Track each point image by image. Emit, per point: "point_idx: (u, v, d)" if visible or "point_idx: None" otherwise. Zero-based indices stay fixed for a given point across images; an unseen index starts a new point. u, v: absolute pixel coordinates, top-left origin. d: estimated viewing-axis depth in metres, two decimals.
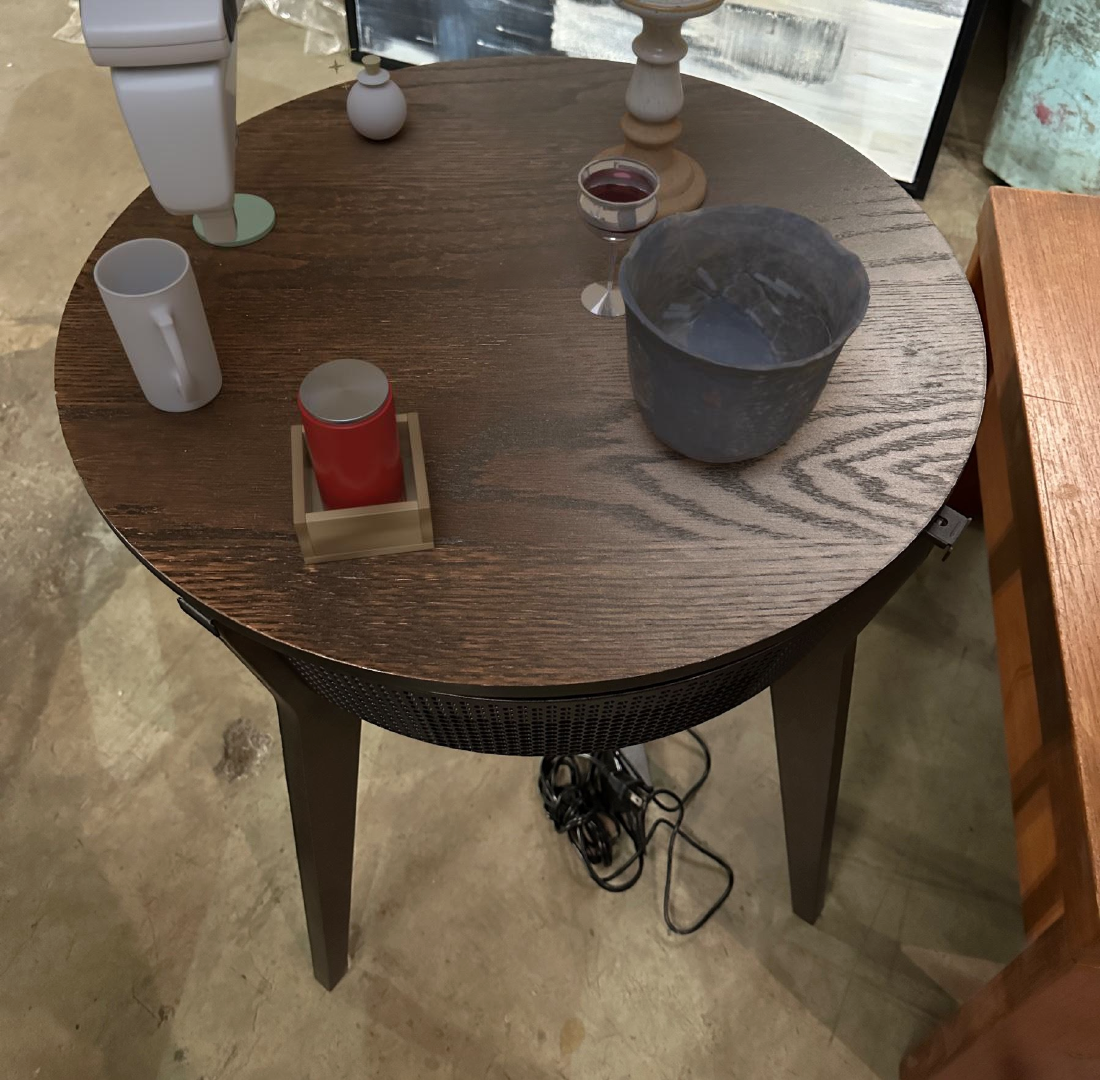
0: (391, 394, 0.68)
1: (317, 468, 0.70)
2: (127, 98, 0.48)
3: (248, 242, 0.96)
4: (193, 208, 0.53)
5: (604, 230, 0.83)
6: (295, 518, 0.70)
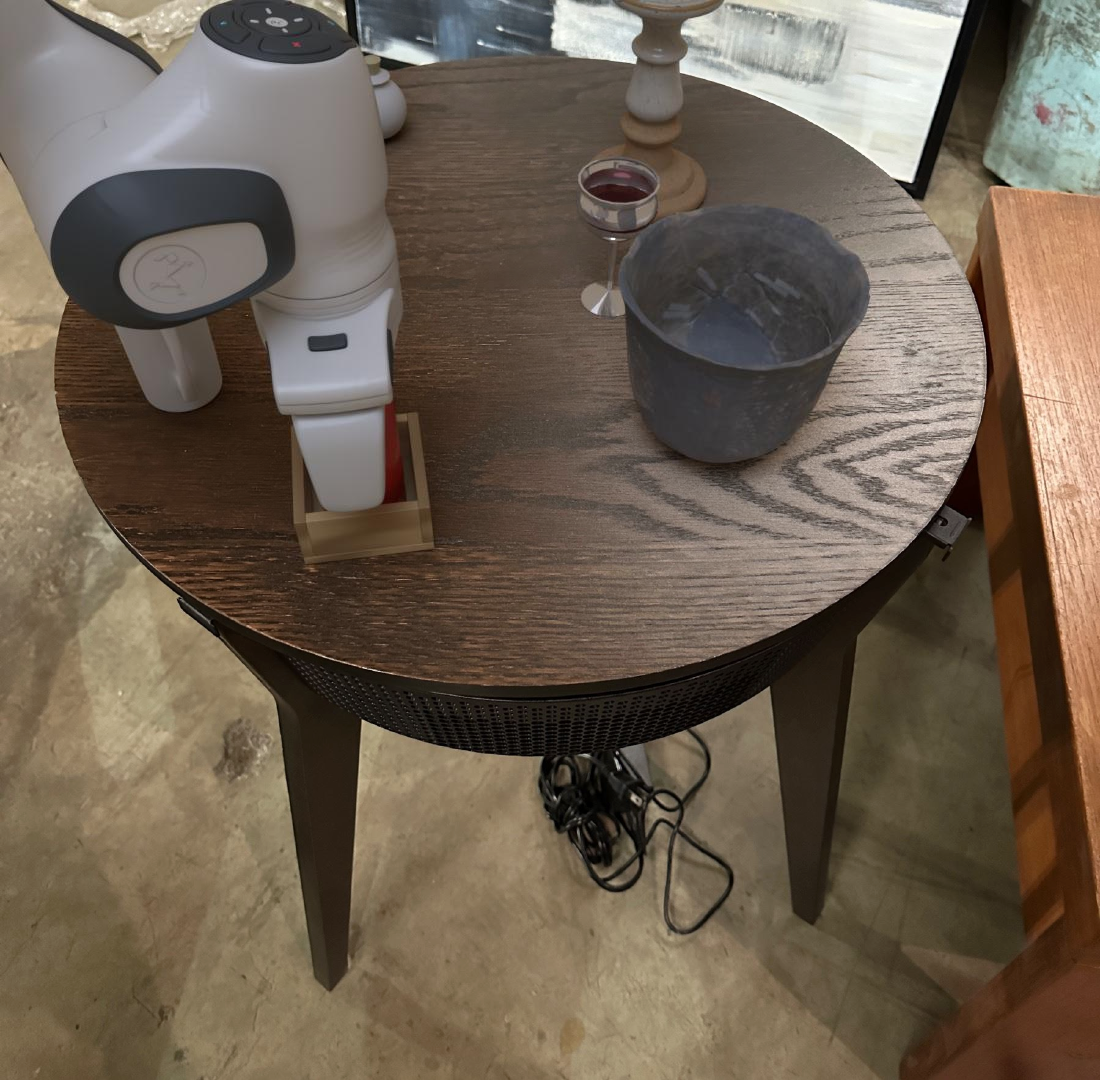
0: None
1: None
2: (306, 438, 0.57)
3: None
4: (350, 510, 0.61)
5: (604, 230, 0.83)
6: (295, 518, 0.70)
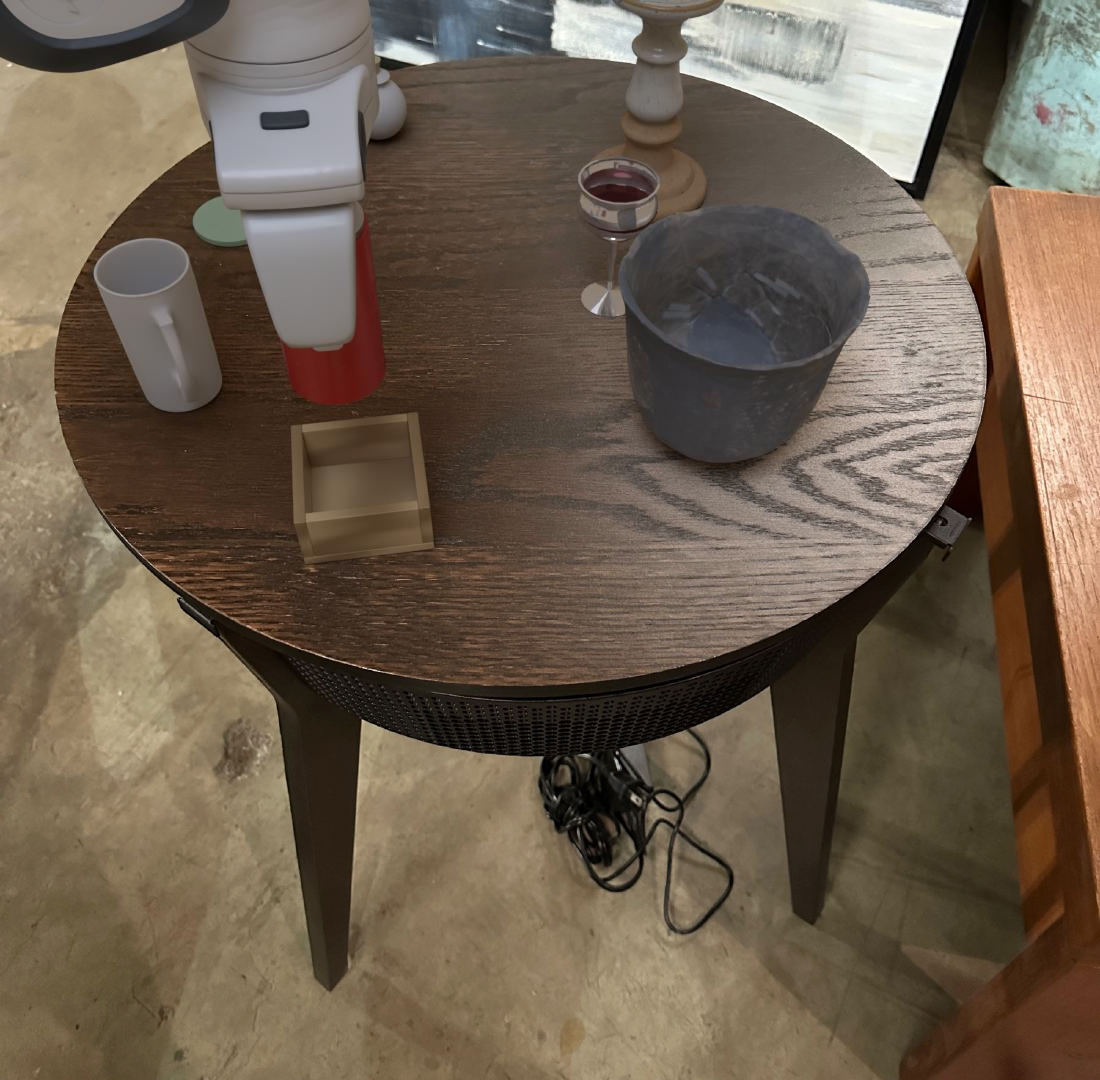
0: (367, 225, 0.57)
1: None
2: (258, 241, 0.47)
3: None
4: (314, 343, 0.51)
5: (604, 230, 0.83)
6: (295, 518, 0.70)
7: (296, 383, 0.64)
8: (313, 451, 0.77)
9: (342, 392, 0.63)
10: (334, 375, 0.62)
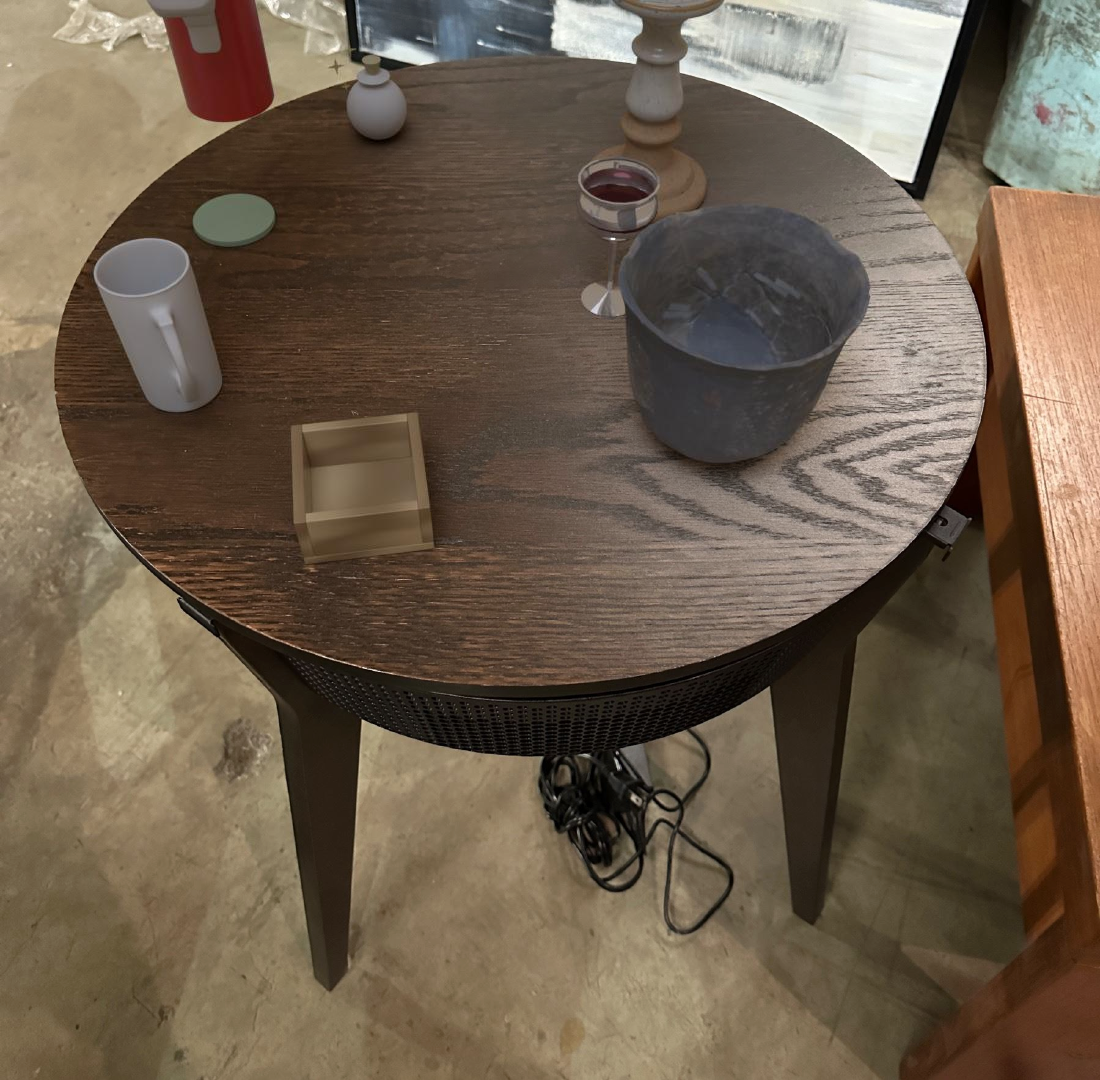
0: None
1: (169, 30, 0.68)
2: None
3: (248, 242, 0.96)
4: (178, 8, 0.59)
5: (604, 230, 0.83)
6: (295, 518, 0.70)
7: (190, 102, 0.72)
8: (313, 451, 0.77)
9: (230, 108, 0.72)
10: (220, 88, 0.70)
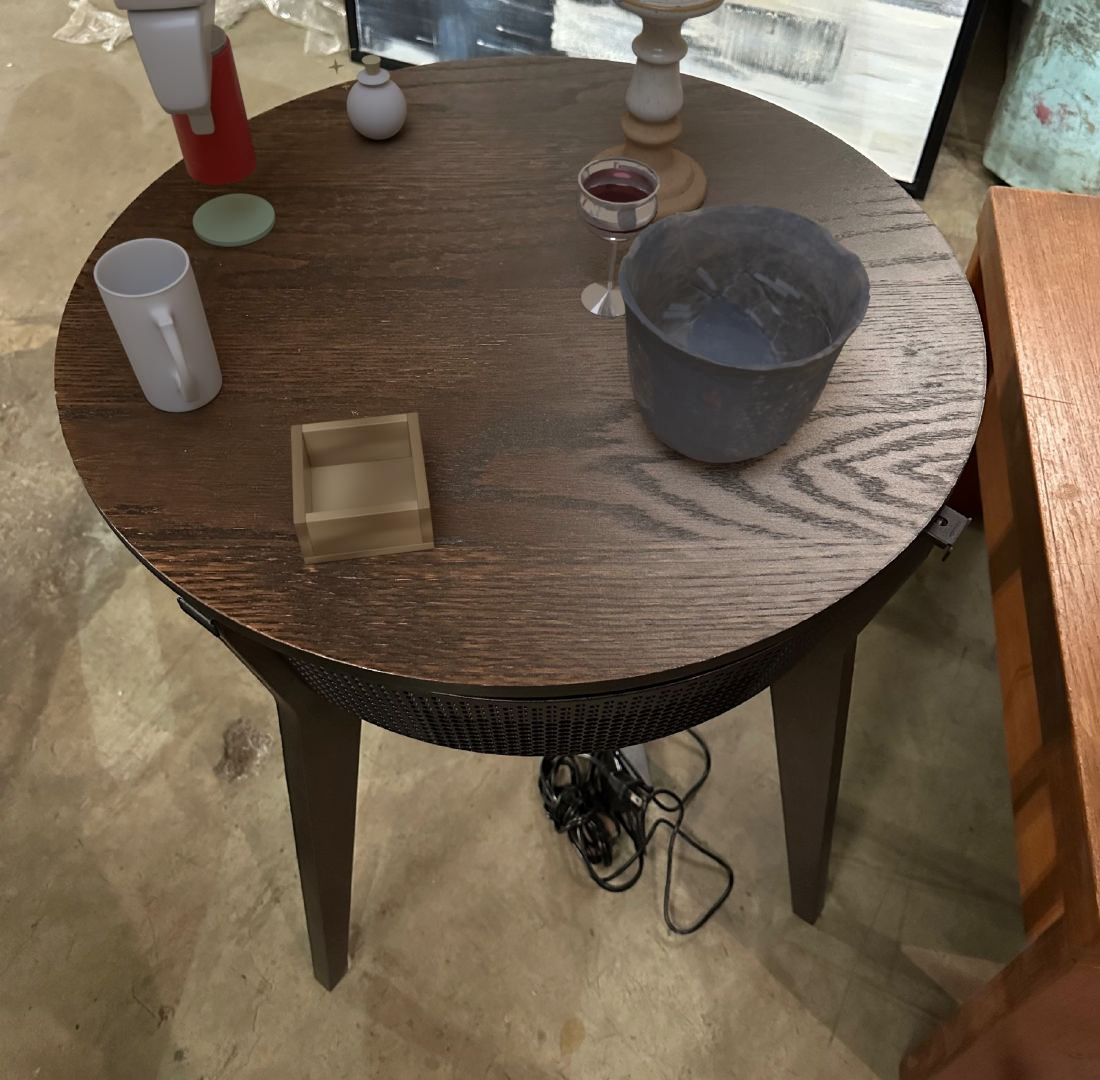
0: (228, 45, 0.84)
1: (173, 115, 0.87)
2: (138, 31, 0.74)
3: (248, 242, 0.96)
4: (182, 108, 0.78)
5: (604, 230, 0.83)
6: (295, 518, 0.70)
7: (190, 169, 0.91)
8: (313, 451, 0.77)
9: (222, 174, 0.90)
10: (214, 159, 0.89)
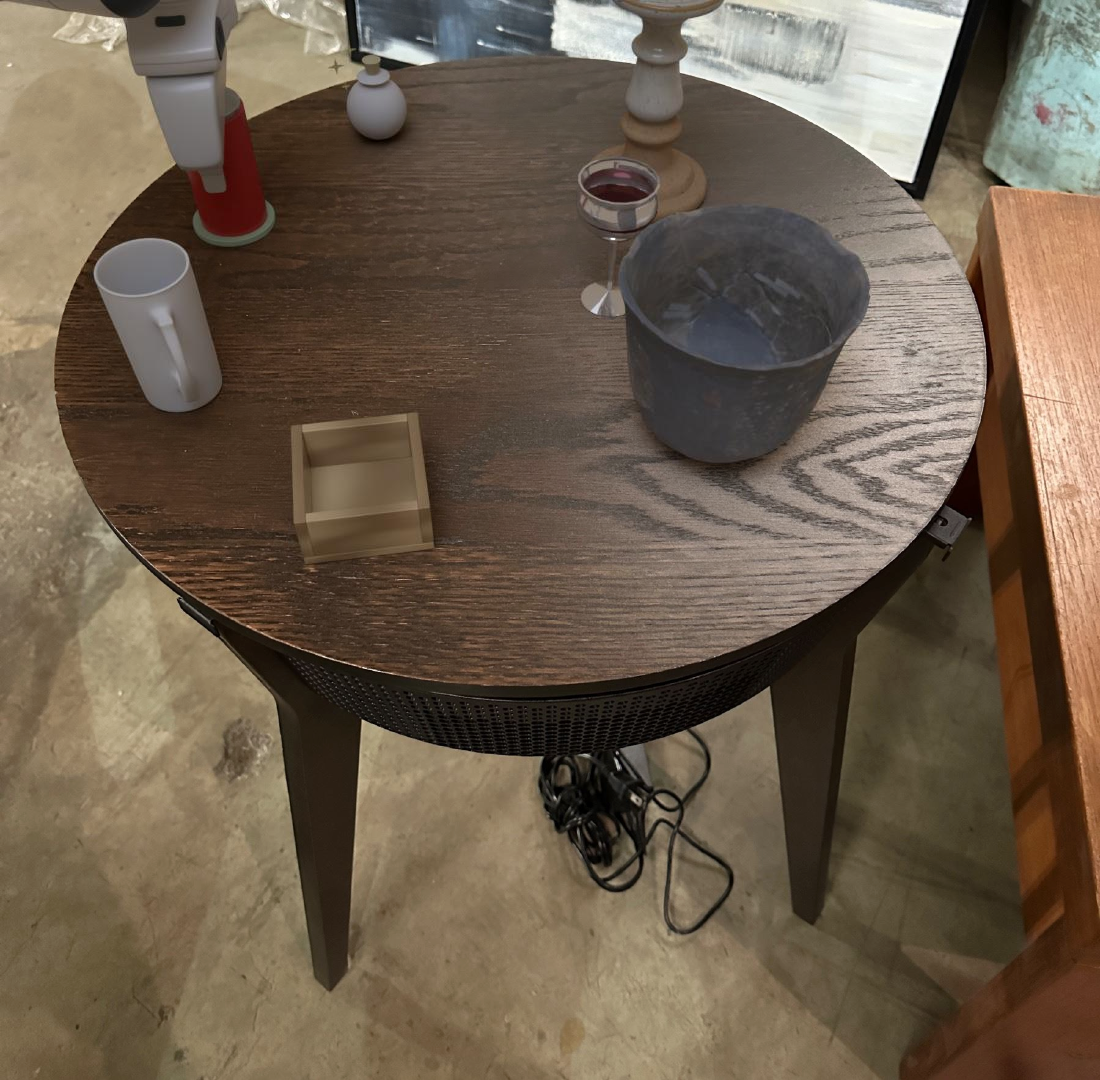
0: (242, 108, 0.89)
1: (189, 173, 0.91)
2: (156, 95, 0.78)
3: (248, 242, 0.96)
4: (197, 166, 0.82)
5: (604, 230, 0.83)
6: (295, 518, 0.70)
7: (204, 222, 0.95)
8: (313, 451, 0.77)
9: (235, 227, 0.95)
10: (227, 213, 0.93)
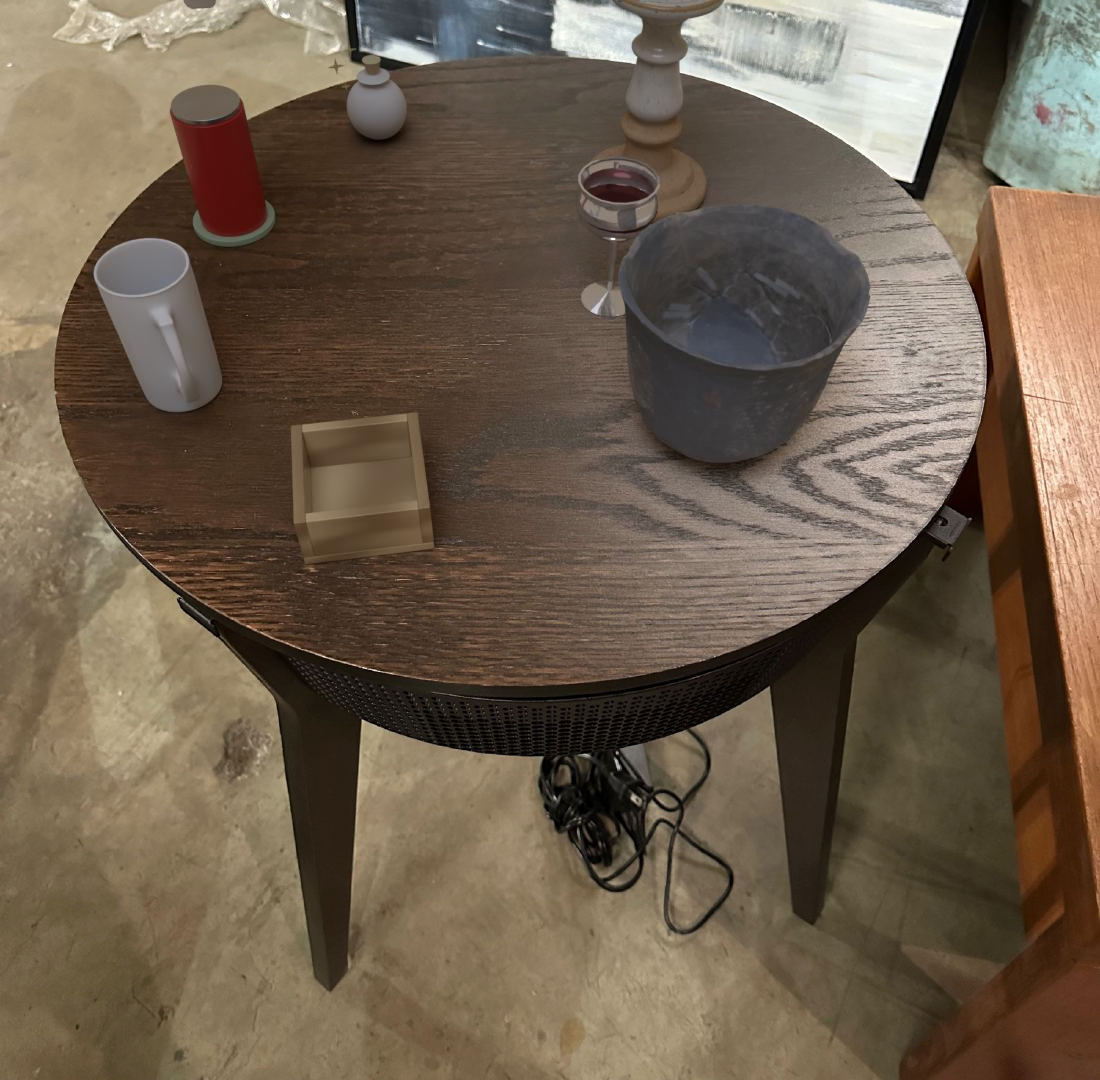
0: (242, 108, 0.89)
1: (189, 173, 0.91)
2: None
3: (248, 242, 0.96)
4: None
5: (604, 230, 0.83)
6: (295, 518, 0.70)
7: (204, 222, 0.95)
8: (313, 451, 0.77)
9: (235, 227, 0.95)
10: (227, 213, 0.93)
